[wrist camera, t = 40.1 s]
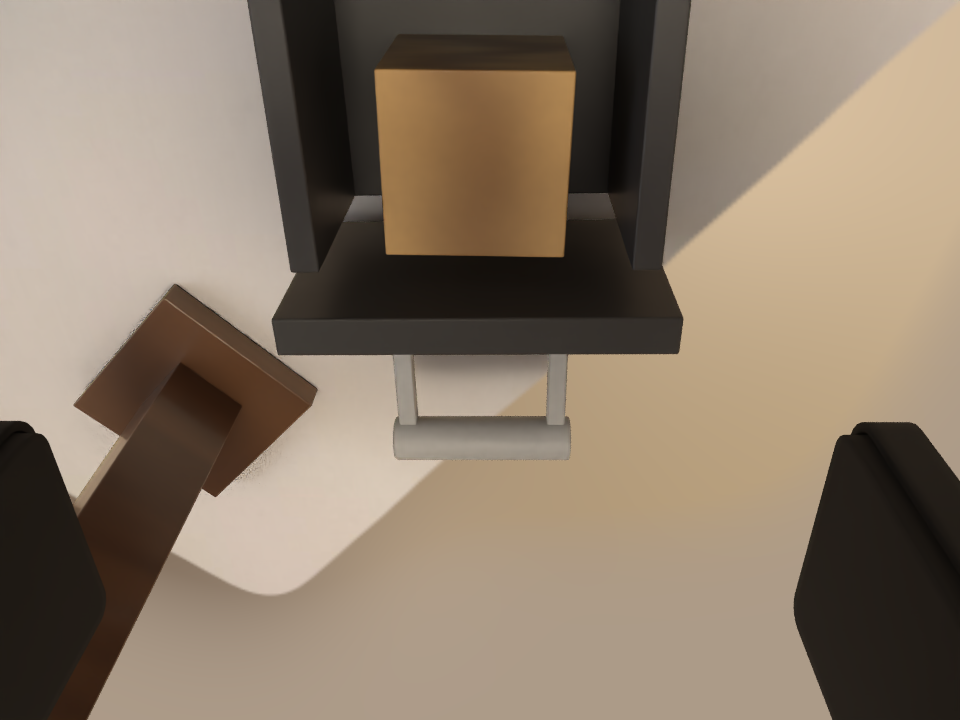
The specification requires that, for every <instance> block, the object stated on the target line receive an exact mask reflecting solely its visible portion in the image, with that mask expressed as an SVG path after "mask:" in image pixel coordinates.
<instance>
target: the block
mask: <svg viewBox="0 0 960 720" xmlns="http://www.w3.org/2000/svg"><path fill="white" fill-rule="evenodd" d="M374 77H375V92H376V108H377V124H378V140H379V156H380V172H381V188H382V204H383V220H384V236H385V252H386V254H387V255H449V256H512V257H564V251H565V236H566V221H567V206H568V190H569V175H570V160H571V145H572V130H573V115H574V100H575V85H576V71H575V68H574V65H573V62H572V59H571V57H570V54H569V51H568V48H567V45H566V43H565V40H564V37H563V36H521V35H420V34H399V35H397V37H396V38H395V40H394V41H393V43H392V44H391V46H390V47H389V48H388V50H387V51H386V53H385V54H384V56H383V57H382V59H381V60H380V62H379V63H378V65H377V66H376V68H375V70H374Z"/></svg>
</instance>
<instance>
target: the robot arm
mask: <svg viewBox="0 0 960 720" xmlns="http://www.w3.org/2000/svg"><path fill="white" fill-rule="evenodd" d="M105 606H106V592H105V588H104V585H103V583H102V580H101V578H100V575H99V572H98V570H97V567H96V565H95V562H94V559H93V557H92V554H91V552H90V549H89V546H88V544H87V541H86V539H85V536H84V533H83V531H82V528H81V525H80V523H79V520H78V518H77V515H76V512H75V510H74V507H73V505H72V502H71V499H70V497H69V494H68V492H67V489H66V486H65V484H64V481H63V479H62V476H61V473H60V471H59V468H58V466H57V463H56V460H55V458H54V455H53V453H52V450H51V447H50V445H49V443H48V441H47V439H46V438H45V437H44V436H43V435H42V434H38V433H35V431H34V429H33V428H32V427H31V426H30V425H29V424H28V423H26V422H22V421H0V720H47V719H48V717H49V715H50V714H51V712H52V710H53V708H54V706H55V704H56V703H57V701H58V699H59V697H60V695H61V693H62V692H63V690H64V688H65V686H66V684H67V682H68V681H69V679H70V677H71V675H72V673H73V671H74V670H75V668H76V666H77V664H78V662H79V660H80V659H81V657H82V655H83V653H84V651H85V650H86V648H87V646H88V644H89V642H90V640H91V639H92V637H93V635H94V633H95V631H96V629H97V628H98V626H99V624H100V622H101V620H102V617H103V615H104V611H105ZM794 616H795V621H796V625H797V629H798V631H799V634H800V636H801V639H802V642H803V644H804V647H805V649H806V652H807V655H808V657H809V660H810V663H811V665H812V668H813V670H814V673H815V675H816V678H817V680H818V683H819V686H820V689H821V691H822V694H823V696H824V699H825V702H826V704H827V707H828V709H829V712H830V715H831V717H832V720H960V481H959V479H958V478H957V477H956V475H955V474H954V473H953V471H952V470H951V469H950V467H949V466H948V465H947V463H946V462H945V461H944V459H943V458H942V457H941V455H940V454H939V453H938V452H937V450H936V449H935V447H934V446H933V445H932V443H931V442H930V441H929V439H928V438H927V436H926V435H925V434H924V432H923V431H922V430H921V429H920V428H919V427H918V426H917V425H916V424H913V423H910V422H862V423H859V424H857V425H856V426H855V428H854V429H853V431H852V433H851V435H842V436H840V437H839V438H838V440H837V442H836V445H835V448H834V452H833V455H832V459H831V463H830V467H829V470H828V474H827V477H826V481H825V485H824V489H823V492H822V496H821V500H820V504H819V507H818V511H817V514H816V518H815V522H814V526H813V530H812V533H811V537H810V541H809V544H808V548H807V552H806V555H805V559H804V562H803V567H802V570H801V573H800V577H799V581H798V585H797V589H796V592H795V597H794Z"/></svg>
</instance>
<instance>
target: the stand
mask: <svg viewBox="0 0 960 720" xmlns="http://www.w3.org/2000/svg"><path fill="white" fill-rule="evenodd" d="M316 392H317V389H316V388H315V387H313V386H312V385H311V384H309V383H308V382H307V381H305V380H304V379H303V378H301V377H300V376H299V375H297V374H296V373H295V372H293V371H292V370H291V369H289V368H288V367H286V366H285V365H284V364H282V363H281V362H280V361H278V360H277V359H276V358H274V357H273V356H272V355H270V354H269V353H268V352H266V351H265V350H264V349H262V348H261V347H259V346H258V345H257V344H255V343H254V342H253V341H251V340H250V339H249V338H247V337H246V336H245V335H243V334H242V333H241V332H239V331H238V330H237V329H235V328H234V327H232V326H231V325H230V324H228V323H227V322H226V321H224V320H223V319H222V318H220V317H219V316H218V315H216V314H215V313H214V312H212V311H211V310H210V309H208V308H207V307H205V306H204V305H203V304H201V303H200V302H199V301H197V300H196V299H195V298H193V297H192V296H191V295H189V294H188V293H187V292H185V291H184V290H183V289H181V288H180V287H178V286H177V285H176V284H175V285H173V286H172V288H171V289H170V290H169V291H168V292H167V294H166V295H165V296H164V297H163V298H162V300H161V301H160V302H159V303H158V304H157V306H156V307H155V308H154V309H153V310H152V311H151V313H150V314H149V315H148V316H147V317H146V319H145V320H144V321H143V322H142V323H141V325H140V326H139V327H138V328H137V329H136V331H135V332H134V333H133V334H132V335H131V336H130V338H129V339H128V340H127V341H126V342H125V344H124V345H123V346H122V347H121V348H120V350H119V351H118V352H117V353H116V354H115V356H114V357H113V358H112V359H111V360H110V361H109V363H108V364H107V365H106V366H105V367H104V369H103V370H102V371H101V372H100V373H99V375H98V376H97V377H96V378H95V379H94V381H93V382H92V383H91V384H90V385H89V386H88V388H87V389H86V390H85V391H84V393H83V394H82V395H81V396H80V397H79V399H78V400H77V401H76V402H75V404H74V407H76V408H78V409H79V410H81V411H82V412H84V413H85V414H87V415H88V416H90V417H92V418H93V419H95V420H96V421H98V422H99V423H101V424H102V425H104V426H106V427H107V428H109V429H110V430H112V431H113V432H115V433H116V434H118V435H119V436H120V437H119V438H118V440H117V441H116V442H115V444H114V445H113V447H112V448H111V450H110V451H109V453H108V454H107V456H106V457H105V458H104V460H103V461H102V463H101V464H100V466H99V467H98V469H97V470H96V472H95V473H94V474H93V476H92V477H91V479H90V480H89V482H88V483H87V485H86V486H85V488H84V489H83V490H82V492H81V493H80V495H79V496H78V498H77V499H76V501H75V502H74V504H73V507H74V510H75V512H76V515H77V518H78V520H79V523H80V525H81V528H82V531H83V533H84V536H85V539H86V541H87V544H88V546H89V549H90V552H91V554H92V557H93V559H94V562H95V565H96V567H97V570H98V572H99V575H100V578H101V580H102V583H103V585H104V588H105V592H106V606H105V611H104V615H103V617H102V620H101V622H100V624H99V626H98V628H97V629H96V631H95V633H94V635H93V637H92V639H91V640H90V642H89V644H88V646H87V648H86V650H85V651H84V653H83V655H82V657H81V659H80V660H79V662H78V664H77V666H76V668H75V670H74V671H73V673H72V675H71V677H70V679H69V681H68V682H67V684H66V686H65V688H64V690H63V692H62V693H61V695H60V697H59V699H58V701H57V703H56V704H55V706H54V708H53V710H52V712H51V714H50V715H49V717H48V719H47V720H87V719H88V717H89V715H90V713H91V711H92V709H93V707H94V705H95V703H96V701H97V699H98V697H99V695H100V693H101V691H102V689H103V687H104V685H105V683H106V681H107V679H108V677H109V675H110V672H111V671H112V669H113V667H114V665H115V663H116V661H117V659H118V657H119V655H120V652H121V650H122V648H123V646H124V645H125V642H126V640H127V638H128V636H129V634H130V632H131V630H132V628H133V626H134V624H135V622H136V620H137V618H138V616H139V614H140V612H141V610H142V608H143V606H144V604H145V602H146V600H147V598H148V596H149V594H150V592H151V590H152V588H153V586H154V584H155V582H156V580H157V578H158V576H159V574H160V572H161V570H162V568H163V565H164V564H165V561H166V560H167V558H168V556H169V554H170V552H171V550H172V548H173V546H174V543H175V541H176V539H177V537H178V535H179V533H180V531H181V529H182V527H183V525H184V523H185V521H186V519H187V517H188V515H189V513H190V511H191V509H192V507H193V505H194V503H195V501H196V499H197V497H198V495H199V493H200V491H201V489H203V490H205V491H206V492H208V493H210V494H211V495H213V496H214V497H217V496H218V495H219V494H220V493H221V492H222V491H223V490H224V489H225V488H226V487H227V486H228V485H229V484H230V483H231V482H232V481H233V480H234V479H235V478H236V477H237V476H239V475H240V474H241V473H242V472H243V471H244V470H245V469H246V468H247V467H248V466H249V465H250V464H251V463H252V462H253V461H254V460H255V459H256V458H257V457H258V456H259V455H260V454H262V453H263V452H264V451H265V450H266V449H267V448H268V447H269V446H270V445H271V444H272V443H273V442H274V441H275V440H276V439H277V438H278V437H279V436H280V435H281V434H282V433H284V432H285V431H286V430H287V429H288V428H289V427H290V426H291V425H292V424H293V423H294V422H295V421H296V420H297V419H298V418H299V417H300V416H301V415H302V414H303V413H304V412H305V411H307V410H308V409H309V408H310V407H311V406H312V403H313V400H314V398H315V395H316Z"/></svg>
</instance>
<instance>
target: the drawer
mask: <svg viewBox="0 0 960 720" xmlns="http://www.w3.org/2000/svg"><path fill="white" fill-rule="evenodd" d="M247 2H248V8H249V15H250V21H251V27H252V33H253V40H254V46H255V52H256V58H257V64H258V71H259V77H260V83H261V89H262V96H263V102H264V108H265V114H266V121H267V127H268V133H269V139H270V145H271V152H272V158H273V164H274V170H275V177H276V183H277V189H278V195H279V201H280V208H281V214H282V220H283V226H284V233H285V239H286V245H287V251H288V258H289V264H290V270H291V272H293V273H296V274H295V276H294V278H293V280H292V282H291V284H290V286H289V288H288V290H287V292H286V294H285V295H284V297H283V299H282V301H281V303H280V305H279V307H278V309H277V311H276V313H275V314H274V316H273V318H272V325H273V331H274V336H275V342H276V347H277V353H278V355H393V360H394V371H395V382H396V393H397V404H398V415H399V416H398V417H396V419H395V422H394V431H393V448H394V455H395V458H396V459H397V460H568V459H569V458H570V451H571V430H570V420H569V417H567V416H565V403H566V382H567V360H568V354H678V353H679V349H680V341H681V334H682V326H683V316H682V314H681V311H680V309H679V306H678V304H677V301H676V299H675V296H674V294H673V291H672V289H671V286H670V284H669V282H668V279H667V276H666V274H665V272H664V269H663V266H662V262H663V253H664V244H665V235H666V226H667V216H668V207H669V198H670V189H671V180H672V171H673V162H674V153H675V144H676V135H677V126H678V117H679V108H680V99H681V90H682V81H683V71H684V62H685V53H686V44H687V35H688V26H689V17H690V8H691V0H247ZM399 34H420V35H521V36H563V37H564V40H565V43H566V45H567V48H568V51H569V54H570V57H571V59H572V62H573V65H574V68H575V71H576V85H575V100H574V115H573V130H572V145H571V160H570V175H569V190H568V193H608V195H609V199H610V202H611V205H612V208H613V211H614V214H615V217H616V219H602V220H567V221H566V236H565V251H564V257H512V256H449V255H387V254H386V252H385V236H384V221H377V222H343V220H344V218H345V216H346V213H347V211H348V209H349V207H350V205H351V203H352V201H353V199H354V196H365V195H382V188H381V172H380V156H379V140H378V124H377V108H376V92H375V77H374V70H375V68H376V66H377V65H378V63H379V62H380V60H381V59H382V57H383V56H384V54H385V53H386V51H387V50H388V48H389V47H390V46H391V44H392V43H393V41H394V40H395V38H396V37H397V35H399ZM523 354H548V372H547V407H546V408H547V409H546V416H418V407H417V394H416V381H415V368H414V355H523Z"/></svg>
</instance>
